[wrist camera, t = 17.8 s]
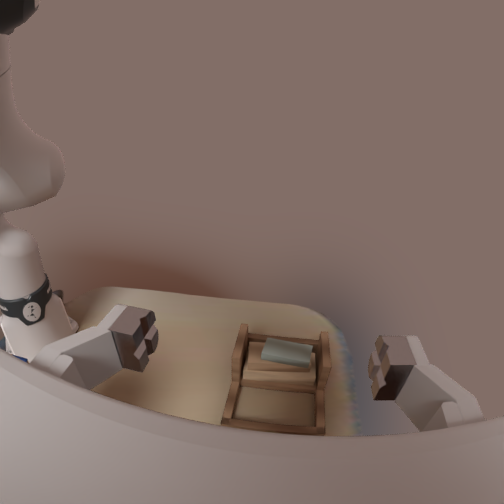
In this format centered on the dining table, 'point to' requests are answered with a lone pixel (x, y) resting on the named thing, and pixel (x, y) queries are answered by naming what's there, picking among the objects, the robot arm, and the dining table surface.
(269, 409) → the dining table surface
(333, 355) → the dining table surface
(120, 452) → the robot arm
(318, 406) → the rack
